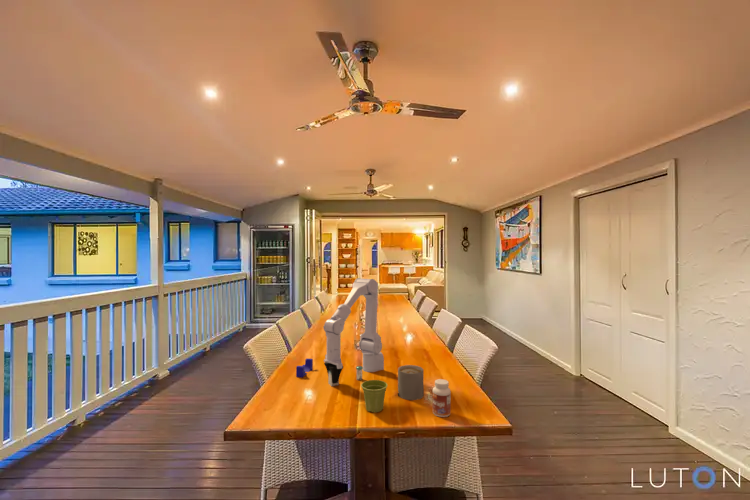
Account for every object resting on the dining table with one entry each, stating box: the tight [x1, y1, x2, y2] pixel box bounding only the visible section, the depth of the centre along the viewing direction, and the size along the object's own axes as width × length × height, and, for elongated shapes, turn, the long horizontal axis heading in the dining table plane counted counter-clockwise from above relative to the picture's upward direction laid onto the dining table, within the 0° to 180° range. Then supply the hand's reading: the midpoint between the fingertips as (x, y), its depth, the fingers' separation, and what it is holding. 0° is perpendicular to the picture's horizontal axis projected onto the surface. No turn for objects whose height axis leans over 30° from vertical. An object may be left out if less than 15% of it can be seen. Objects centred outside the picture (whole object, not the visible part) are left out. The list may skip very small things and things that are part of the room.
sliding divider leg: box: [327, 370, 340, 387], centre depth 142 cm, size 3×4×6 cm
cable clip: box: [295, 358, 314, 378], centre depth 156 cm, size 12×4×6 cm, turn 170°
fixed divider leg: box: [355, 365, 363, 381], centre depth 148 cm, size 3×3×6 cm
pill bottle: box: [432, 378, 452, 418], centre depth 119 cm, size 6×6×11 cm
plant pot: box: [360, 379, 388, 413], centre depth 123 cm, size 9×9×9 cm
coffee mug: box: [397, 364, 424, 401], centre depth 137 cm, size 13×10×10 cm
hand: (333, 381), depth 142 cm, fingers closed on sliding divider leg, 4 cm apart
